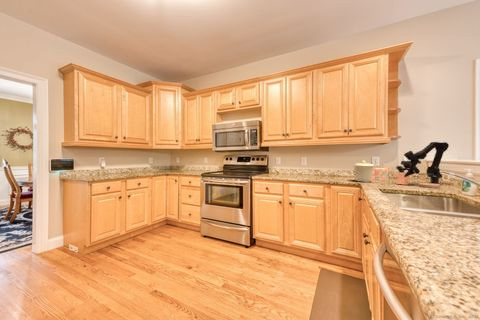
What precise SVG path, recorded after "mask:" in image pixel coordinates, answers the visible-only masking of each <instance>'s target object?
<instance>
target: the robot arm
mask: <svg viewBox="0 0 480 320" xmlns="http://www.w3.org/2000/svg"><path fill="white" fill-rule="evenodd" d="M449 146H450V144H449V143H448V142H445V141H444V142H440V141H439V142H437V141H432V142H430V143H429V144H428V145H426V146H425V147H424V148H423V149H422V150H419V151H417V152H415V153H413V151H412V150H408V152H407V151H406V152H405V153H404V154H403V155H404V157H405V158H406V159H407V160H401V162H400V165H397V166H396V167H395V169H396V170H398V172H404V173H406V174H405V176H404V177H407V176H412V175H415V174H418V175H419V174H420V173H421V171H420V170H419V168H418V167H417V165H418V164H422V161H421V160H425V158H426V157H427V155H428V154H429V153H430V152H431V151H432V150H434V149H435V154H434V156H433V157H434V158H433V159H432V160H433V161H432V162H431V166H427V168H426V175H427V177H428V178H430V179H429V180H430V182H429V183H430V184H441V182H440V179H441V178H443V174H441V170H440V164H441V161H442V159H443V155H444V153H445V152H446V151H447V150H448V149H449Z"/></svg>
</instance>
